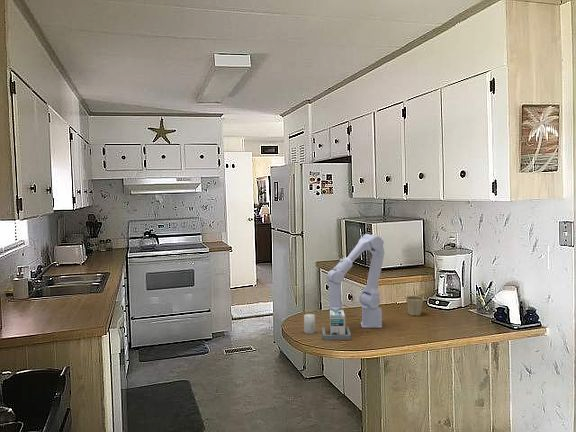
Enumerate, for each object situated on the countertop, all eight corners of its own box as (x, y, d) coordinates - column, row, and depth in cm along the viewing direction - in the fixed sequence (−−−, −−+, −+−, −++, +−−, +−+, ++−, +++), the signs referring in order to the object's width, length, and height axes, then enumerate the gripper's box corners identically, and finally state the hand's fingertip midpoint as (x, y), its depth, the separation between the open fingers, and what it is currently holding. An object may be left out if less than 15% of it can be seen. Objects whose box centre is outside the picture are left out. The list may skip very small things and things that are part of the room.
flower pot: (426, 313, 265) (426, 297, 264) (420, 317, 257) (421, 301, 256) (409, 311, 270) (409, 295, 269) (403, 315, 262) (403, 298, 261)
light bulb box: (345, 339, 224) (345, 315, 223) (330, 339, 224) (330, 315, 224) (344, 331, 235) (344, 308, 234) (329, 331, 235) (329, 308, 234)
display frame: (348, 331, 236) (348, 327, 235) (351, 340, 223) (351, 335, 223) (322, 331, 236) (322, 327, 236) (322, 340, 223) (322, 335, 223)
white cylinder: (314, 330, 238) (314, 313, 237) (315, 333, 233) (314, 316, 232) (304, 330, 238) (304, 313, 237) (304, 333, 233) (304, 316, 232)
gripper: (325, 292, 243) (325, 319, 244) (326, 299, 229) (327, 328, 230) (340, 292, 243) (340, 319, 244) (342, 299, 228) (342, 329, 229)
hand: (335, 324), depth 237 cm, fingers closed
